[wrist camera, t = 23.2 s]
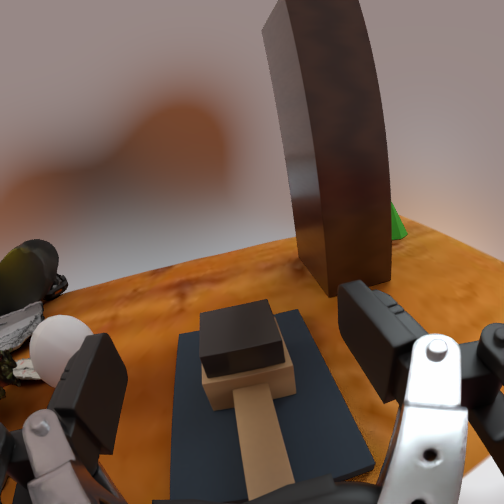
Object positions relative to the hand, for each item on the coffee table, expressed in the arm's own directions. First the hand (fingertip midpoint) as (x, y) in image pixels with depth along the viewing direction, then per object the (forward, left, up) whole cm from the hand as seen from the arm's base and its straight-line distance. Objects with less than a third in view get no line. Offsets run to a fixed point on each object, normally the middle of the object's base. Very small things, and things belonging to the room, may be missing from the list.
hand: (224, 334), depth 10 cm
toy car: (-34, +38, -8) cm, 52 cm away
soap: (-25, +14, -10) cm, 31 cm away
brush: (0, +3, -11) cm, 11 cm away
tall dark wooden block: (+14, +24, -12) cm, 31 cm away
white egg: (-16, +16, -7) cm, 23 cm away
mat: (0, +8, -12) cm, 14 cm away
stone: (-40, +24, -10) cm, 47 cm away
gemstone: (+26, +32, -12) cm, 43 cm away
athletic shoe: (-37, +26, -2) cm, 46 cm away
